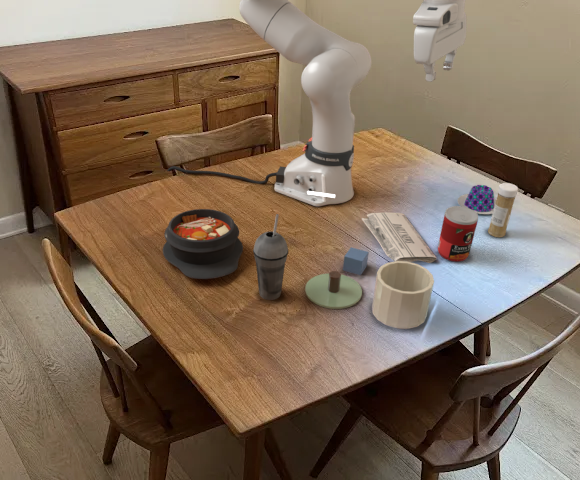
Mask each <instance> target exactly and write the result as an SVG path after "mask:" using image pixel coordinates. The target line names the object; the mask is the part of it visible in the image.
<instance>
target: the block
mask: <svg viewBox="0 0 580 480" xmlns="http://www.w3.org/2000/svg"><path fill="white" fill-rule="evenodd" d="M368 260H369V251H367V250H363V249H359V248H356V247H352V246H351V247H350V248H349V249H348V251H347V252H346V253H345V255H344V256H343V265H342V271H344V272H348V273H350V274H354V275H358V276H362V274H363V273H364V271H365V270H366V268H367V267H368Z"/></svg>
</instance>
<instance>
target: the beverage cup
mask: <svg viewBox="0 0 580 480" xmlns="http://www.w3.org/2000/svg"><path fill="white" fill-rule="evenodd" d="M278 221H279V214H278V213H276V214H275V219H274V224H273V225H274V226H273V231H271V230H270V231H265V232H263V233H261V234H260V235H259V236H257V238H256V240H255V241H254V245H253V249H252V252H253V256H254V261H255V266H256V275H257V287H258V293H259V296H260V297H261V298H262V299H263V300H267V301H274V300H277V299H279V298H280V297H281V293H282V289H283V281H284V274H285V266H286V262H287V258H288V255H289V247H288V243H287V241H286V239H285V237H284V236H283V235H282V234H280V233H279V232H277V229H278Z"/></svg>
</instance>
